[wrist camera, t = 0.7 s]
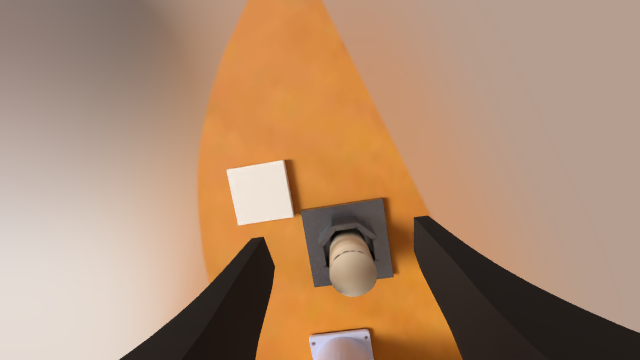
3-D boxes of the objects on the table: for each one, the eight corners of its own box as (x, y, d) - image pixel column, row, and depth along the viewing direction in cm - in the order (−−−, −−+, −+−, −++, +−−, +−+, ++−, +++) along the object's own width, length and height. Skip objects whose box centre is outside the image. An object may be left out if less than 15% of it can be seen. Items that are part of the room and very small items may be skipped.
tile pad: (294, 214, 29) (293, 217, 28) (241, 222, 29) (238, 225, 28) (284, 160, 28) (282, 160, 27) (230, 169, 28) (226, 169, 27)
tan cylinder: (367, 258, 28) (380, 293, 21) (332, 263, 28) (333, 299, 21) (362, 224, 28) (373, 248, 21) (327, 229, 28) (325, 255, 21)
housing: (391, 273, 29) (399, 288, 26) (314, 283, 30) (313, 299, 26) (381, 197, 28) (387, 203, 25) (301, 209, 29) (297, 217, 25)
